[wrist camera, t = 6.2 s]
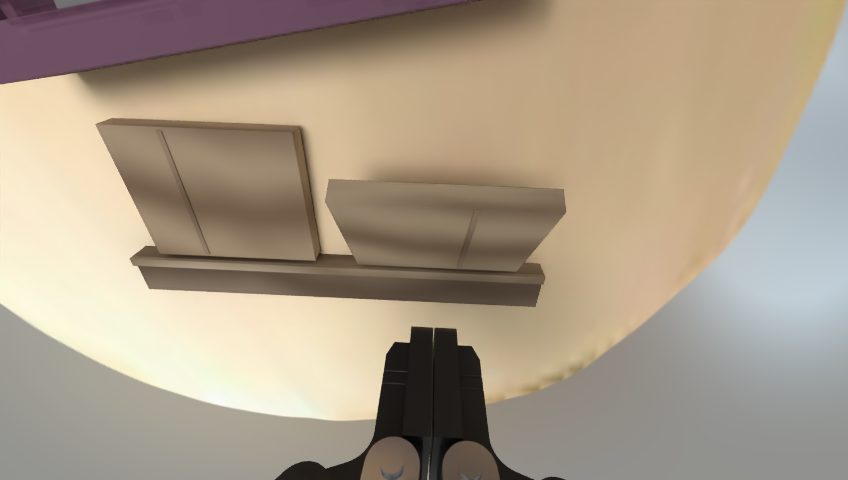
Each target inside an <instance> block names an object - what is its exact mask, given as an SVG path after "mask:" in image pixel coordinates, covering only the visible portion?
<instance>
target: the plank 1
mask: <svg viewBox="0 0 848 480" xmlns="http://www.w3.org/2000/svg"><path fill="white" fill-rule="evenodd" d="M95 125H96V127H97V129H98V131H99V133H100V135H101V137H102V139H103V141H104V143H105V145H106V147H107V149H108V151H109V153H110V155H111V157H112V159H113V161H114V163H115V165H116V167H117V169H118V171H119V173H120V175H121V177H122V179H123V181H124V183H125V185H126V187H127V189H128V191H129V193H130V195H131V197H132V199H133V201H134V203H135V205H136V207H137V209H138V211H139V213H140V215H141V217H142V219H143V221H144V223H145V225H146V227H147V229H148V231H149V233H150V235H151V237H152V239H153V241H154V243H155V245H156V247H157V249H158V251H159V253H160V254H178V255H200V256H222V257H244V258H266V259H288V260H310V261H316V259H317V257H318V254H319V252H320V246H319V240H318V234H317V228H316V222H315V217H314V211H313V205H312V199H311V193H310V187H309V181H308V175H307V170H306V164H305V158H304V152H303V146H302V140H301V134H300V128H299V126H287V125H263V124H239V123H215V122H191V121H167V120H143V119H119V118H111V119H108V120H106V121H103V122H100V123H97V124H95Z"/></svg>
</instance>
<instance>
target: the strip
mask: <svg viewBox="0 0 848 480" xmlns="http://www.w3.org/2000/svg"><path fill="white" fill-rule="evenodd" d="M130 260H131V262H132V264H133V266H138V267H139V269H140V271H141V273H142V275H143V277H144V279H145V281H146V283H147V285H148V287H149V289H164V290H185V291H207V292H228V293H249V294H271V295H292V296H314V297H335V298H357V299H378V300H399V301H421V302H442V303H464V304H485V305H507V306H528V307H536V303H537V299H538V296H539V292H540V288H541V285H542V284H544V280H545V276H544V274H543V271H542V269H541V266H540V264H529V263H523V264H522V266H521V267H520V268H519V269H518V270H517V272H512V271H490V270H468V269H446V268H424V267H402V266H380V265H359V264H357V262H356V260H355V258H354V256H353V255H331V254H318V257H317V259H316V261H310V260H288V259H266V258H244V257H222V256H200V255H178V254H160V253H159V251H158V249H157V247H155V246H145V247H144V248H143V249H141V250H140V251H139V252H138V253H136V254H135V255H134V256H132V257H131V258H130Z"/></svg>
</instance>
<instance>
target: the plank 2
mask: <svg viewBox="0 0 848 480" xmlns="http://www.w3.org/2000/svg"><path fill="white" fill-rule="evenodd" d="M325 202H326V204H327V206H328V208H329V210H330V212H331V214H332V216H333V218H334V220H335V222H336V223H337V225H338V227H339V229H340V231H341V233H342V235H343V237H344V239H345V241H346V243H347V245H348V246H349V248H350V250H351V252H352V254H353V256H354V258H355V260H356V262H357V264H359V265H380V266H402V267H424V268H446V269H468V270H490V271H512V272H517V270H518V269H519V268H520V267H521V266H522V264H523V263H524V262H525V261H526V260H527V259H528V257H529V256H530V255H531V254H532V253H533V251H534V250H535V249H536V248H537V247H538V245H539V244H540V243H541V242H542V241H543V239H544V238H545V237H546V236H547V235H548V233H549V232H550V231H551V230H552V229H553V227H554V226H555V225H556V224H557V223H558V221H559V220H560V219H561V218H562V217H563V215H564V214H565V213H566V206H565V198H564V190H563V189H545V188H522V187H499V186H476V185H453V184H429V183H406V182H383V181H360V180H337V179H329V182H328V188H327V194H326V199H325Z"/></svg>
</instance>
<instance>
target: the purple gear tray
mask: <svg viewBox="0 0 848 480" xmlns="http://www.w3.org/2000/svg"><path fill="white" fill-rule="evenodd" d="M475 1H480V0H0V84H6V83H13V82H19V81H26V80H32V79H39V78H45V77H52V76H59V75H65V74H72V73H78V72H83V71H89V70H95V69H100V68H106V67H111V66H117V65H123V64H128V63H134V62H139V61H145V60H151V59H156V58H162V57H167V56H173V55H178V54H184V53H190V52H195V51H201V50H206V49H212V48H218V47H223V46H229V45H234V44H240V43H246V42H251V41H257V40H262V39H268V38H273V37H279V36H285V35H290V34H296V33H301V32H307V31H313V30H318V29H324V28H329V27H335V26H341V25H346V24H352V23H357V22H363V21H368V20H374V19H380V18H385V17H391V16H396V15H402V14H408V13H413V12H419V11H424V10H430V9H436V8H441V7H447V6H452V5H458V4H463V3H469V2H475Z"/></svg>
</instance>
